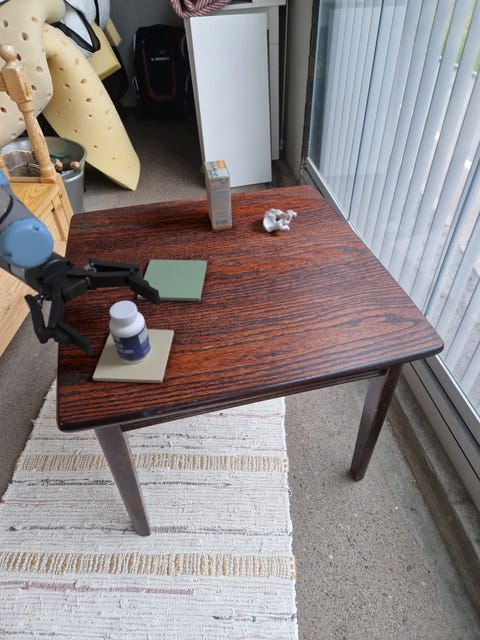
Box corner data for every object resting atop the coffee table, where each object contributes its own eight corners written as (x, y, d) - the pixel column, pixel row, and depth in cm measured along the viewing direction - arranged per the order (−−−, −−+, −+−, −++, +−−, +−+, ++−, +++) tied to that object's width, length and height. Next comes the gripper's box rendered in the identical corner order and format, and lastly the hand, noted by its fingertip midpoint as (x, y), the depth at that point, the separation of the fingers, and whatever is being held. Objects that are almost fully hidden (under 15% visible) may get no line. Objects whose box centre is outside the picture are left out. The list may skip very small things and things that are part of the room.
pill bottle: (112, 361, 68) (97, 318, 61) (127, 338, 72) (114, 295, 65) (143, 367, 67) (131, 324, 60) (156, 343, 71) (146, 300, 64)
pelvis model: (289, 223, 92) (260, 216, 93) (286, 239, 95) (258, 232, 96) (298, 205, 97) (271, 199, 99) (295, 221, 100) (269, 214, 102)
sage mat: (137, 299, 80) (136, 296, 80) (150, 262, 89) (150, 259, 88) (200, 301, 80) (199, 298, 79) (207, 263, 88) (207, 260, 88)
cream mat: (93, 380, 66) (92, 377, 66) (112, 331, 74) (111, 328, 74) (162, 383, 66) (161, 380, 65) (174, 333, 74) (173, 329, 73)
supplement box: (207, 213, 103) (202, 161, 94) (226, 211, 104) (224, 159, 94) (212, 231, 97) (208, 177, 88) (232, 228, 98) (230, 175, 89)
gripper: (106, 255, 83) (184, 297, 74) (-14, 326, 69) (63, 389, 60) (96, 221, 78) (179, 262, 68) (-35, 291, 64) (46, 354, 54)
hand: (125, 321), depth 64 cm, fingers open, 13 cm apart
